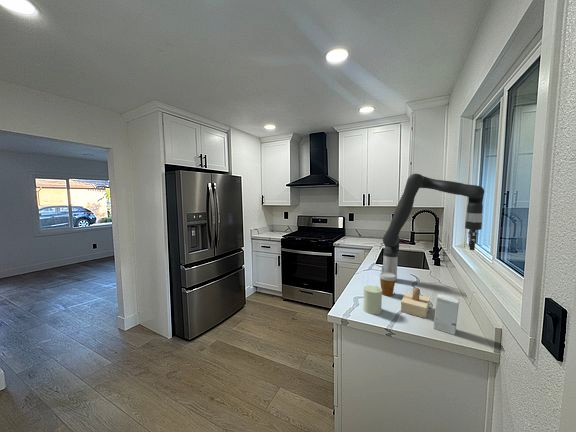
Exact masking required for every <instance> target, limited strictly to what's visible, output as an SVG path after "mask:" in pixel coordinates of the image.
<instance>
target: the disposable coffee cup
mask: <svg viewBox="0 0 576 432" xmlns="http://www.w3.org/2000/svg"><path fill="white" fill-rule="evenodd" d="M379 280H380V281H379V282H380V288H381V289H382V296H385V297H392V296H393V295H394V290H395V284H396V281H395V280H396V276H395V275H394V274H392V273H382V272H381V273H379Z"/></svg>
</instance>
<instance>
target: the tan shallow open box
mask: <svg viewBox="0 0 576 432" xmlns="http://www.w3.org/2000/svg"><path fill="white" fill-rule="evenodd" d="M400 304H401V303H400ZM400 306H401V307H400V312H401V313H404V314H408V315H410V316H411V315H412V316H415V317H418V318H419V317H420V318H422V319H426V317H427V314H428V312H429V308H430V302H429V303H428V306H427V309H426V310H424V309H421V308H417V307H413V306H409V305H405V304H401V305H400Z"/></svg>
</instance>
